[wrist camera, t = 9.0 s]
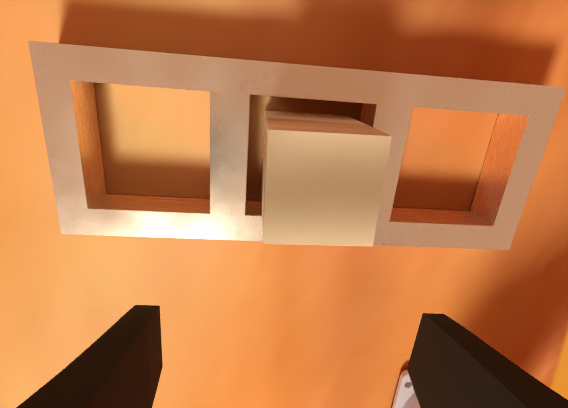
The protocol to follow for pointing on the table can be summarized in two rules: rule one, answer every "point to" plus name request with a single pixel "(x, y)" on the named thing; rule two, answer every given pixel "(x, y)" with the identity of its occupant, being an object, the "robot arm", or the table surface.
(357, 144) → the birch peg
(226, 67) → the tan slotted board
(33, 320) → the table surface
